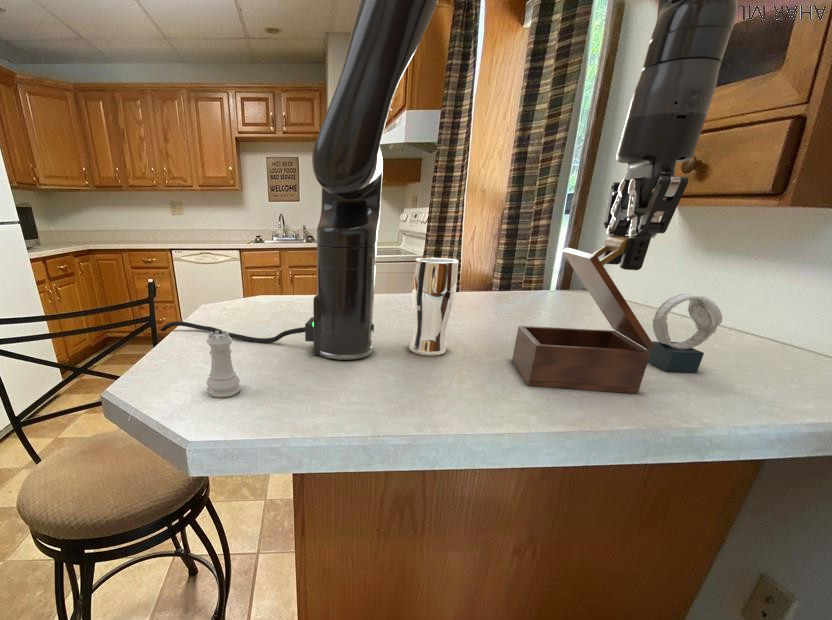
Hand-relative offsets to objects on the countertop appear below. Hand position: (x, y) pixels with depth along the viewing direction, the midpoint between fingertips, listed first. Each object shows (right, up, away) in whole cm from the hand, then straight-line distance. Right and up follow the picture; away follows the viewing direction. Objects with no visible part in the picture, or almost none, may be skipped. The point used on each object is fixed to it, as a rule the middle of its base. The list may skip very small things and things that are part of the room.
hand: (619, 266), depth 55 cm
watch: (+15, -13, +11) cm, 23 cm away
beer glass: (-21, -10, +18) cm, 29 cm away
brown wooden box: (-3, -14, +7) cm, 16 cm away
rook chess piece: (-52, -17, +1) cm, 55 cm away
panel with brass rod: (-1, -4, +2) cm, 4 cm away
